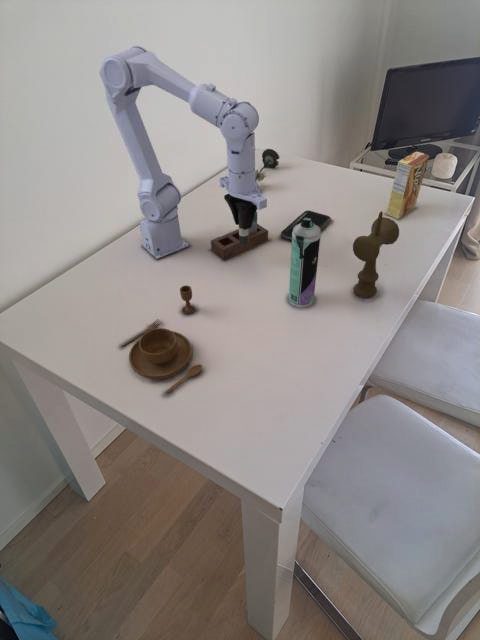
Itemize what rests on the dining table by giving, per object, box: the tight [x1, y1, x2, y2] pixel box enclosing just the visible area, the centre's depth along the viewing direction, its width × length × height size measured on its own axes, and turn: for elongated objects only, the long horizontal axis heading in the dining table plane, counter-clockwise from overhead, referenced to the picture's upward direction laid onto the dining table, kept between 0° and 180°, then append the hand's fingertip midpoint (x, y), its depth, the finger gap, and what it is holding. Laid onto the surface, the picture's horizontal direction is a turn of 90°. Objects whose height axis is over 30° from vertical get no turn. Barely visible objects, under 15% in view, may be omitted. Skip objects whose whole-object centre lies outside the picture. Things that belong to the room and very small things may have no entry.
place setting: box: [120, 285, 203, 395], centre depth 83 cm, size 18×20×6 cm
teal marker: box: [249, 210, 258, 234], centre depth 111 cm, size 2×2×8 cm
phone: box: [280, 210, 331, 242], centre depth 116 cm, size 8×1×15 cm
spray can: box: [288, 217, 322, 309], centre depth 88 cm, size 6×6×20 cm
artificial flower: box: [255, 148, 280, 192], centre depth 136 cm, size 9×22×10 cm, turn 152°
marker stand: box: [210, 223, 269, 261], centre depth 110 cm, size 14×6×3 cm, turn 126°
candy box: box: [386, 151, 430, 220], centre depth 116 cm, size 9×4×15 cm, turn 134°
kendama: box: [352, 211, 400, 299], centre depth 89 cm, size 6×10×20 cm, turn 140°
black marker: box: [238, 211, 249, 244], centre depth 99 cm, size 2×2×8 cm
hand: (243, 225), depth 99 cm, fingers closed on black marker, 2 cm apart
